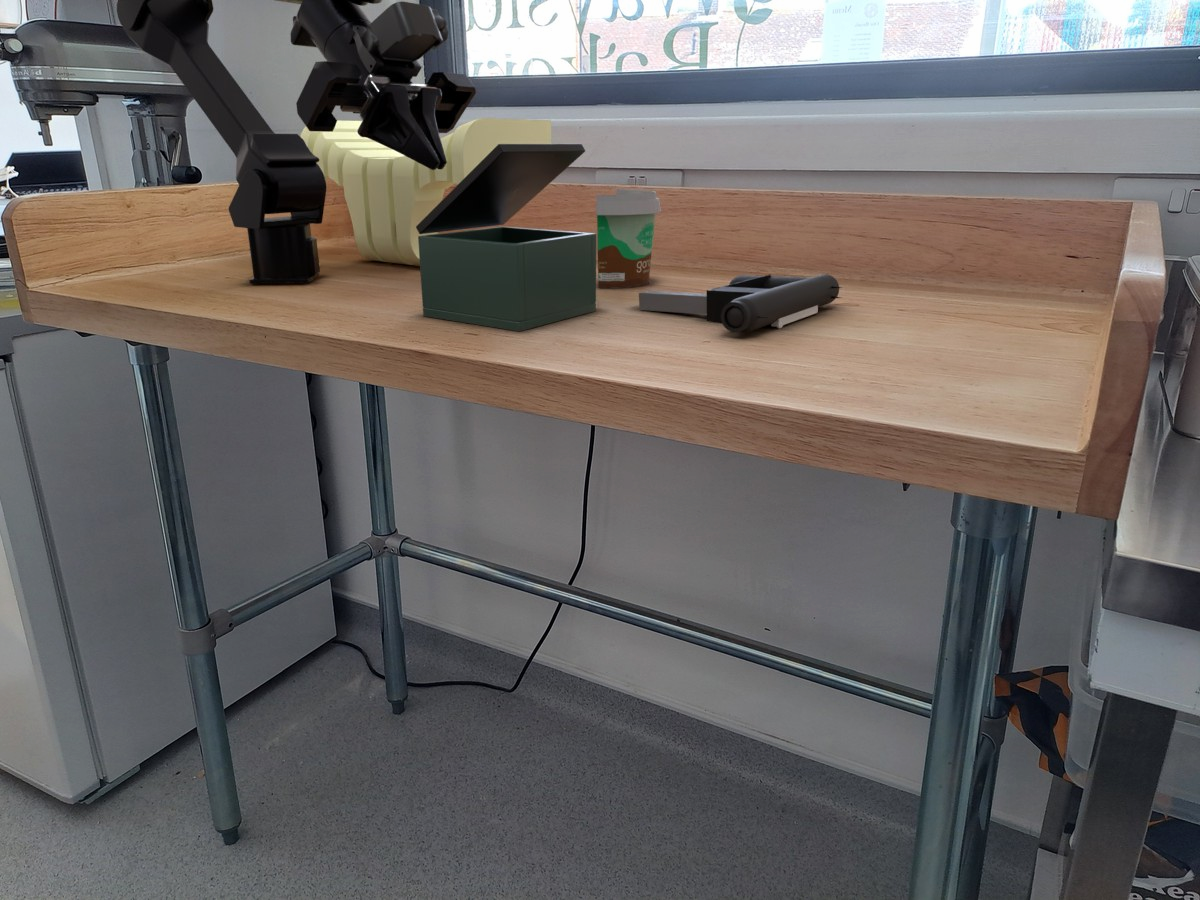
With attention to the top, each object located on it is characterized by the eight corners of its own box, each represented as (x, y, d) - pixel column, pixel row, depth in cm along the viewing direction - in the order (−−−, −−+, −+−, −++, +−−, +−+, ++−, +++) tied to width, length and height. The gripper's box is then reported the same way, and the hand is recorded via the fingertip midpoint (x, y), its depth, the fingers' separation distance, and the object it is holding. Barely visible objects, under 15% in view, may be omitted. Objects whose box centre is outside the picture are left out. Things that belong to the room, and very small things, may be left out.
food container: (650, 291, 93) (653, 196, 89) (595, 289, 94) (595, 195, 90) (665, 275, 104) (668, 189, 101) (615, 273, 105) (616, 188, 102)
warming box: (596, 311, 82) (596, 233, 80) (519, 331, 73) (517, 244, 71) (504, 298, 88) (501, 226, 86) (423, 316, 79) (417, 235, 77)
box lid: (586, 151, 78) (581, 143, 78) (503, 152, 69) (498, 143, 69) (503, 225, 86) (499, 218, 86) (419, 234, 77) (415, 226, 77)
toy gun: (602, 292, 78) (762, 301, 69) (711, 268, 93) (855, 273, 84) (603, 328, 79) (762, 342, 70) (711, 299, 94) (853, 307, 85)
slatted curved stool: (310, 257, 118) (296, 119, 112) (399, 246, 130) (389, 121, 124) (468, 277, 101) (461, 117, 95) (552, 263, 114) (550, 120, 108)
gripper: (301, -46, 71) (405, 95, 69) (457, -14, 85) (547, 104, 83) (255, 62, 78) (348, 194, 76) (407, 75, 92) (489, 185, 90)
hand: (440, 166), depth 81 cm, fingers closed
